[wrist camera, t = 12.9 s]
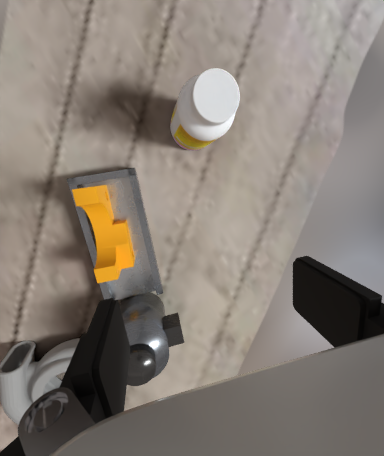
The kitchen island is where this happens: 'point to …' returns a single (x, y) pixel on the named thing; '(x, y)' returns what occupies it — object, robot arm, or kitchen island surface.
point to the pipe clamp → (106, 233)
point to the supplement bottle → (204, 109)
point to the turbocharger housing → (31, 375)
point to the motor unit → (134, 277)
